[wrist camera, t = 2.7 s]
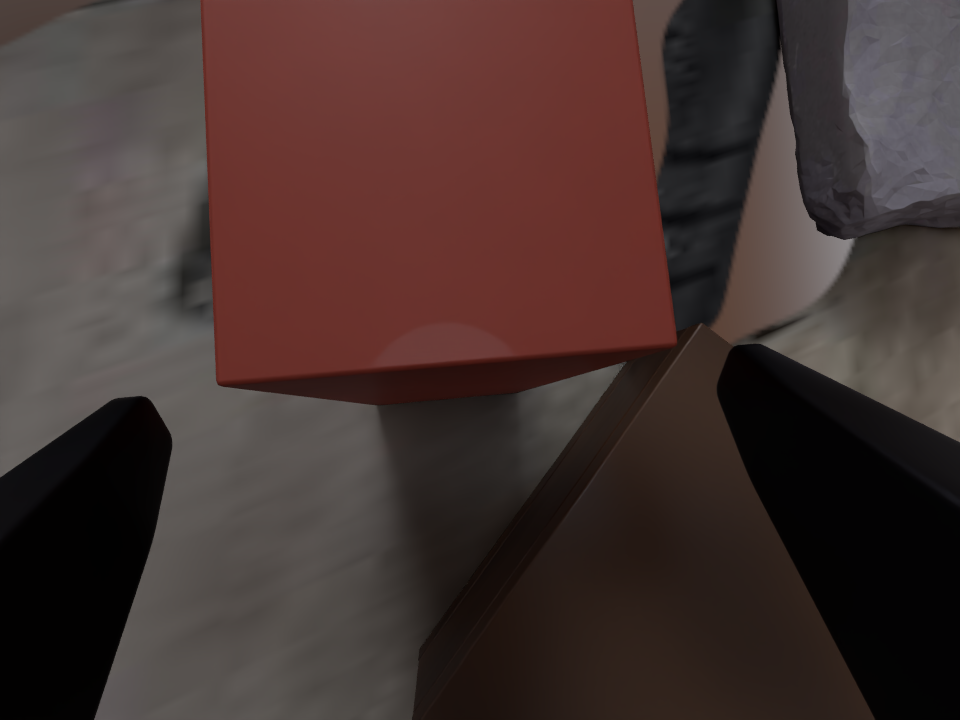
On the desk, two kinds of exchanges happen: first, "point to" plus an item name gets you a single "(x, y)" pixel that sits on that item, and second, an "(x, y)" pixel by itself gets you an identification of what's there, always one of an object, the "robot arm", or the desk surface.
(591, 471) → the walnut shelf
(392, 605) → the desk surface
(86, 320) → the desk surface
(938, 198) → the stone block
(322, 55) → the pillar block
